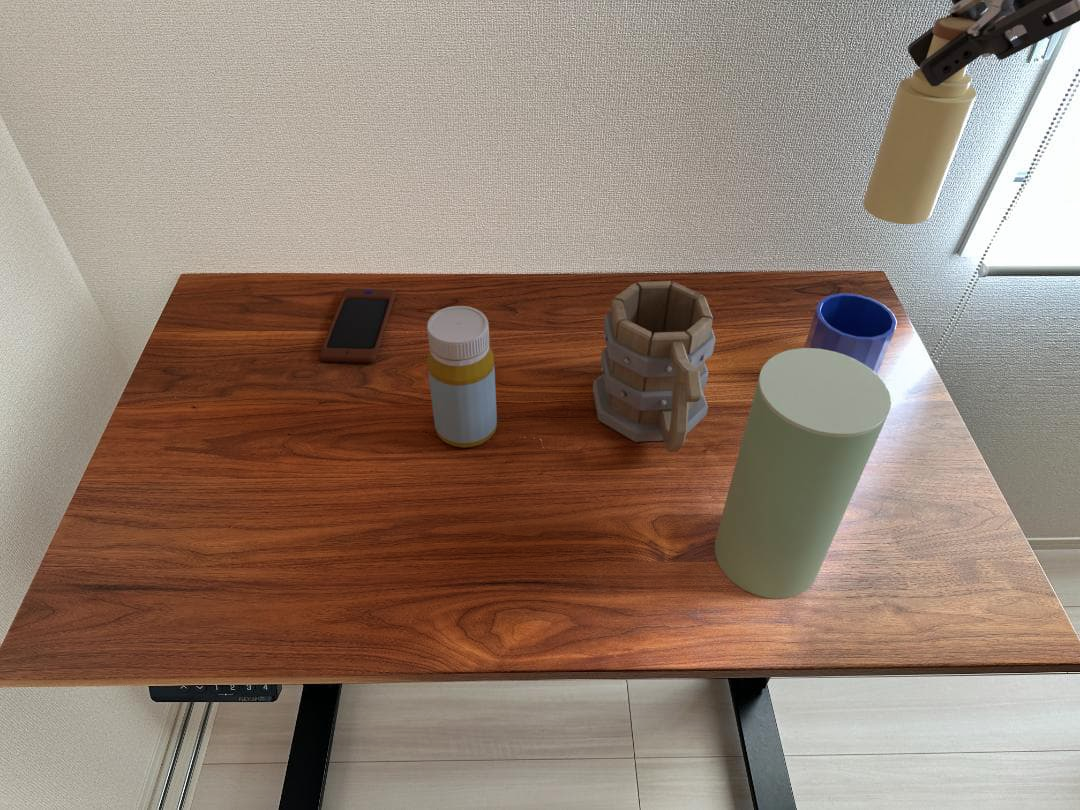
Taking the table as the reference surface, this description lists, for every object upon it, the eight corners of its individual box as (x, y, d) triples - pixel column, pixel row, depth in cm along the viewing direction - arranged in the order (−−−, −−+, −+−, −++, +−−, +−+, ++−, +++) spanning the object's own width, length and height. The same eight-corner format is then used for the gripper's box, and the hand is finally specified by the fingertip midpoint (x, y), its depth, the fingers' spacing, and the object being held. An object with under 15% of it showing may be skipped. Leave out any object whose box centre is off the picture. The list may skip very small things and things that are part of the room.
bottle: (459, 400, 91) (449, 295, 81) (508, 421, 89) (505, 316, 78) (423, 436, 87) (408, 330, 77) (474, 459, 84) (466, 354, 74)
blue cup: (880, 356, 98) (901, 305, 92) (869, 400, 92) (890, 348, 86) (808, 337, 101) (824, 286, 95) (793, 377, 95) (809, 326, 89)
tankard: (588, 371, 95) (595, 268, 85) (689, 366, 96) (708, 264, 86) (611, 495, 81) (623, 389, 71) (729, 489, 82) (758, 383, 71)
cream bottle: (934, 201, 73) (1003, 18, 62) (927, 230, 69) (999, 40, 58) (868, 187, 74) (924, 8, 64) (857, 215, 71) (914, 29, 60)
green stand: (827, 535, 77) (899, 369, 62) (806, 615, 71) (880, 450, 56) (730, 501, 80) (776, 335, 65) (701, 574, 74) (744, 408, 59)
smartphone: (395, 288, 106) (373, 358, 95) (396, 294, 107) (374, 364, 96) (344, 287, 106) (316, 356, 95) (345, 292, 107) (318, 362, 96)
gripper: (1093, -166, 57) (877, 6, 67) (1188, -135, 47) (917, 63, 56) (1131, -81, 61) (920, 71, 70) (1228, -35, 50) (965, 137, 60)
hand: (920, 67), depth 63 cm, fingers closed on cream bottle, 3 cm apart
